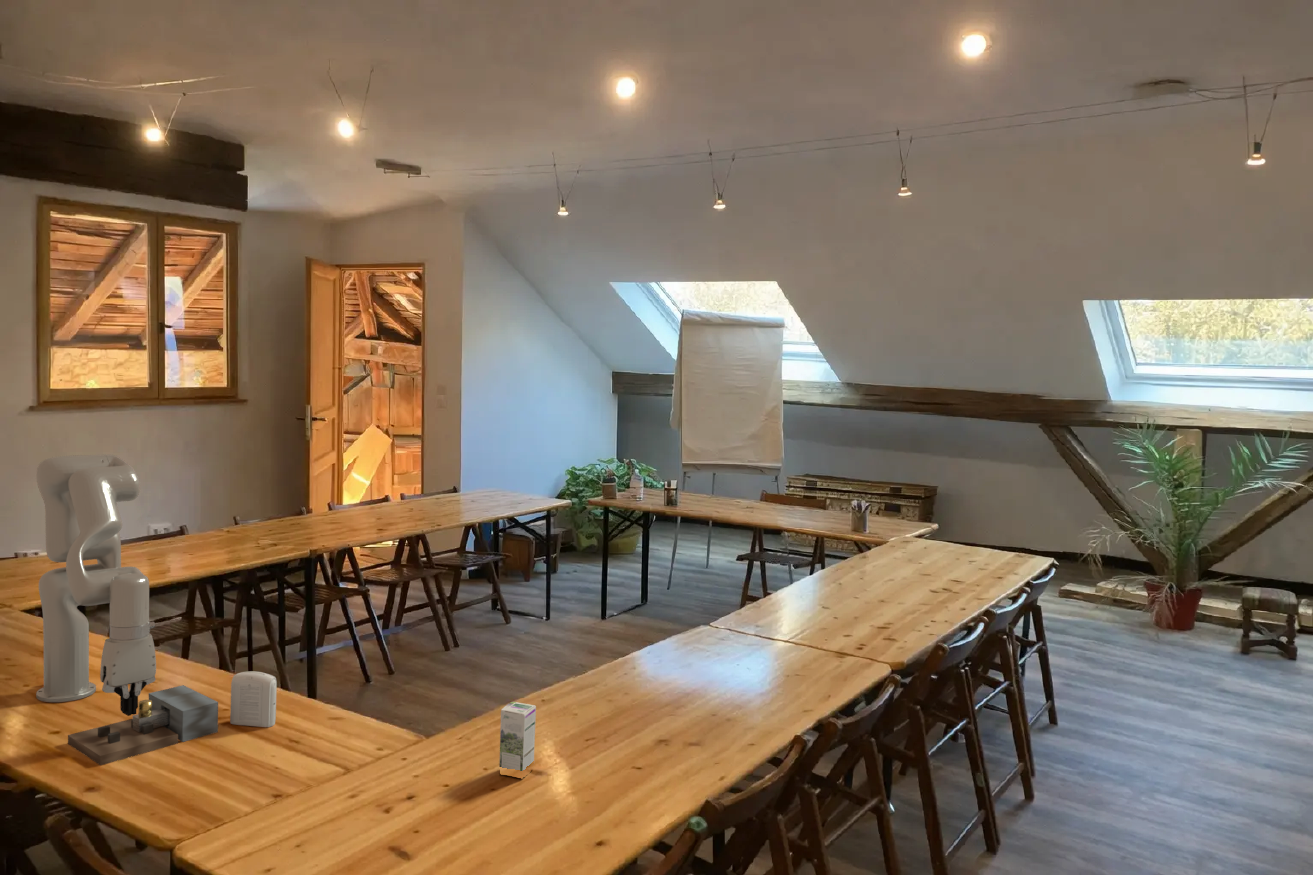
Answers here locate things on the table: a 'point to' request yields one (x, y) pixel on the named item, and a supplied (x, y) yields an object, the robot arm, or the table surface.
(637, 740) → the table surface
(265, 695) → the photo printer
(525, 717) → the syrup box
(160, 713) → the bolt
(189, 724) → the frame
